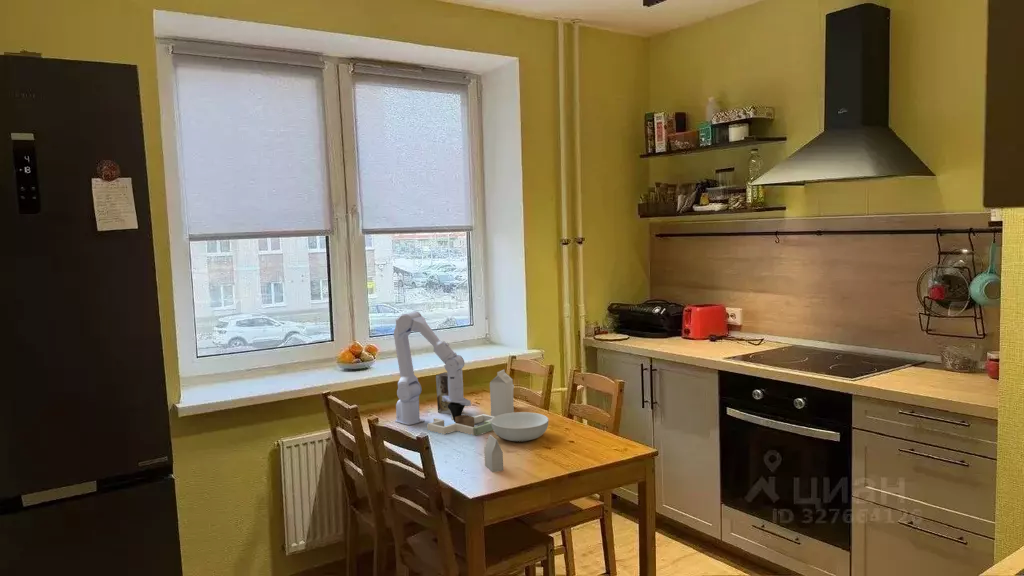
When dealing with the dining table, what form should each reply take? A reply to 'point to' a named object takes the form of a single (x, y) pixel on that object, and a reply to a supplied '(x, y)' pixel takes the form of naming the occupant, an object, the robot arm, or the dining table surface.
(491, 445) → the gray house block
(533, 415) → the serving bowl
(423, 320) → the robot arm
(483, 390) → the dining table surface
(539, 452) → the dining table surface
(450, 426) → the trap channel
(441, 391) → the coffee box
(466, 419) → the walnut block
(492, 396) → the milk carton
